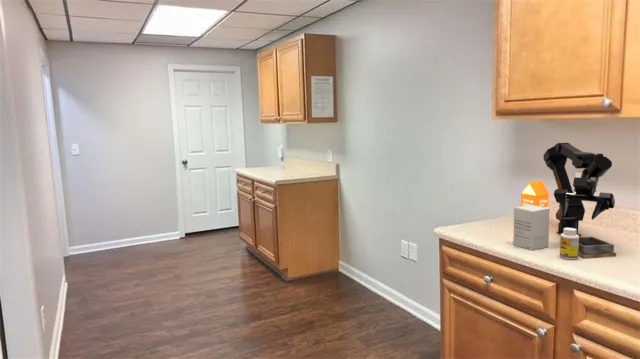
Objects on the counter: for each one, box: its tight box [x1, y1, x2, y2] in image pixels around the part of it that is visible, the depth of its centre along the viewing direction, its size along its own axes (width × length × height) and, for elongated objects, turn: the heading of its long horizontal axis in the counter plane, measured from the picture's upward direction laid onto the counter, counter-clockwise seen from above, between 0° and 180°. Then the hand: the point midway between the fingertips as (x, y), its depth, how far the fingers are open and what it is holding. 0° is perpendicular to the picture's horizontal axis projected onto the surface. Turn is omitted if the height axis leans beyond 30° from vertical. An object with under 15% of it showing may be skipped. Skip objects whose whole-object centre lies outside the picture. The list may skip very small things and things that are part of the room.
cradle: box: [578, 236, 617, 260], centre depth 158 cm, size 12×12×4 cm
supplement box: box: [512, 205, 550, 251], centre depth 168 cm, size 9×9×15 cm
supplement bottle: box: [559, 228, 580, 261], centre depth 153 cm, size 6×6×10 cm
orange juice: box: [520, 180, 550, 208], centre depth 198 cm, size 8×9×20 cm
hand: (577, 217), depth 157 cm, fingers open, 9 cm apart
